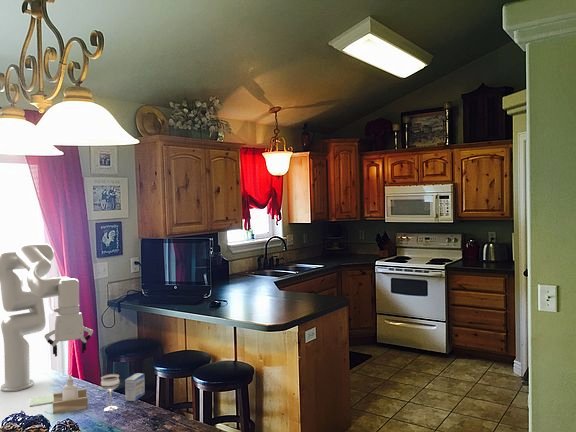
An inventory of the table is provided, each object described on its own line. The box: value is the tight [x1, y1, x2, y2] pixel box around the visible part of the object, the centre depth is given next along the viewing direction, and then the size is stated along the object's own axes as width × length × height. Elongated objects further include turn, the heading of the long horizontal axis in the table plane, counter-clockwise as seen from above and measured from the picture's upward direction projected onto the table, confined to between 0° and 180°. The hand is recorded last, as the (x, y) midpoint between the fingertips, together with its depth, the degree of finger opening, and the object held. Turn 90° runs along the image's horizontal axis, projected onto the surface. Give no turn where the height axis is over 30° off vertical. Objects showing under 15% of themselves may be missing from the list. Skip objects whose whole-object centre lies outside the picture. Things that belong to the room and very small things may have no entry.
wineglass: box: [100, 373, 120, 412], centre depth 182 cm, size 7×7×12 cm
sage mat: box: [29, 393, 54, 408], centre depth 191 cm, size 9×9×1 cm
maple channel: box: [52, 388, 89, 415], centre depth 185 cm, size 11×12×4 cm
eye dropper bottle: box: [61, 374, 79, 401], centre depth 185 cm, size 4×6×12 cm
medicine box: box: [124, 372, 146, 402], centre depth 193 cm, size 8×4×9 cm, turn 168°
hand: (69, 354), depth 185 cm, fingers open, 9 cm apart
